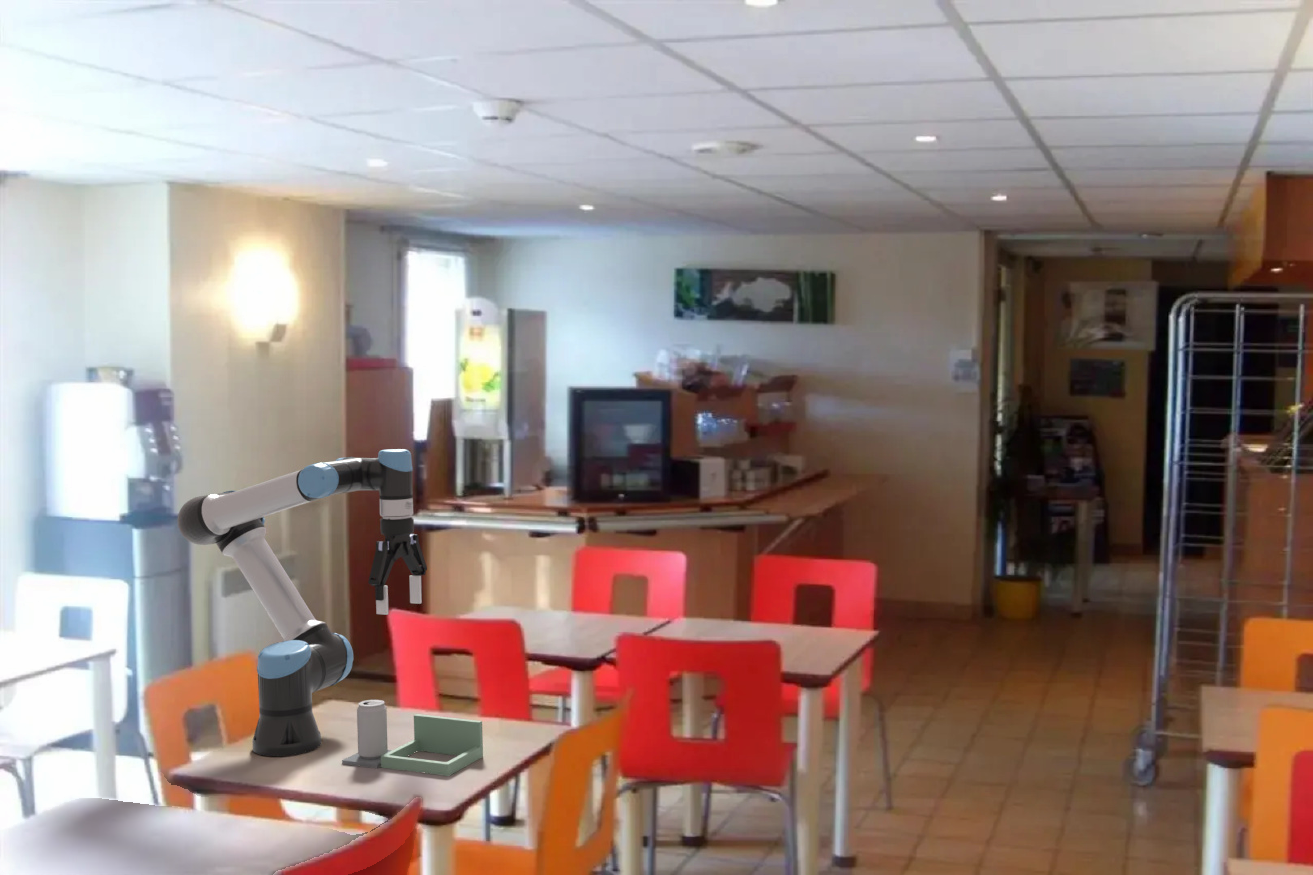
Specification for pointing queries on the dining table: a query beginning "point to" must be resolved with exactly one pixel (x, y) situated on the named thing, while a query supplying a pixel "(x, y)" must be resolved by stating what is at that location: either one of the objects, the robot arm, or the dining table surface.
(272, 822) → the dining table surface
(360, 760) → the mat
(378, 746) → the beverage can
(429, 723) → the green tray
